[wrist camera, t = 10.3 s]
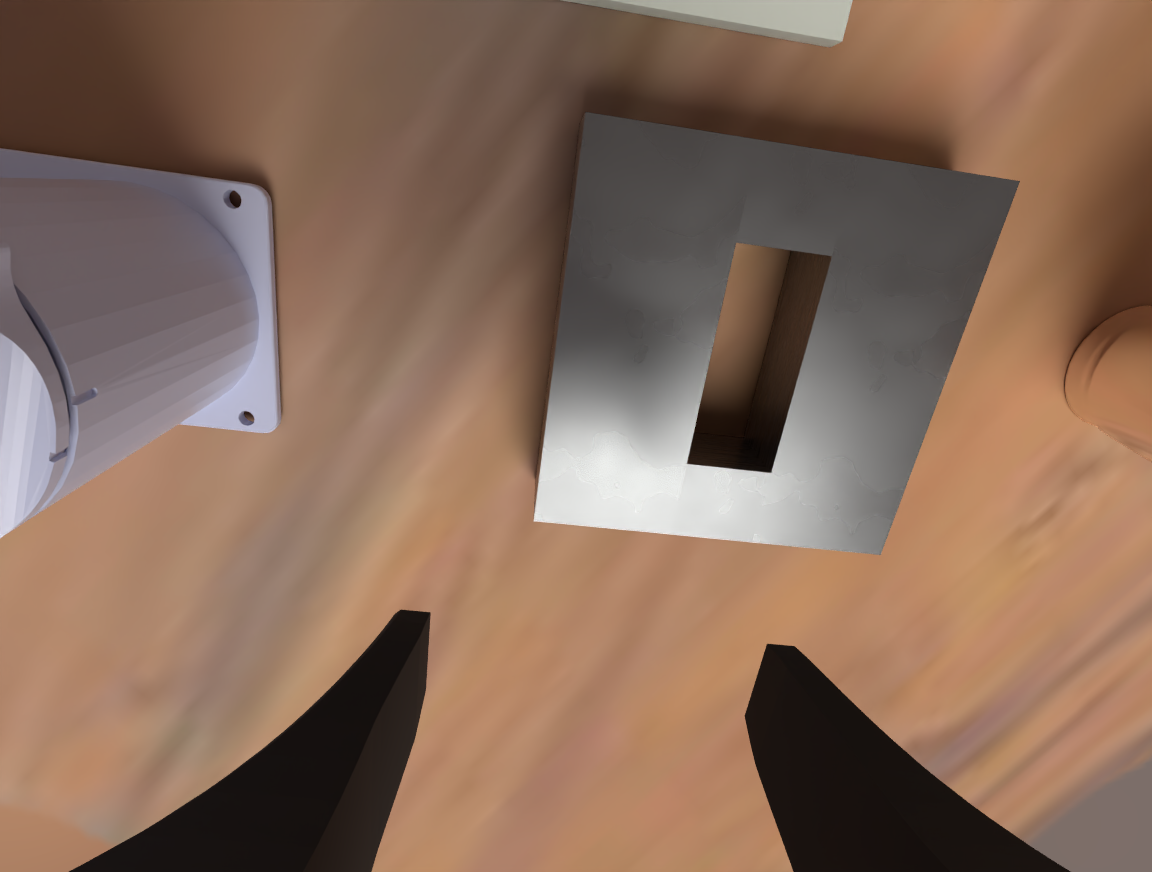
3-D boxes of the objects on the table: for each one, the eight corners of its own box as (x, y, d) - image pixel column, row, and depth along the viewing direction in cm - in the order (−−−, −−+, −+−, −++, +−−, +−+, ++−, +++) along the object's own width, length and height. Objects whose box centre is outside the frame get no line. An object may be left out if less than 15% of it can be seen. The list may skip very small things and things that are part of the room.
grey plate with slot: (535, 480, 23) (533, 521, 20) (579, 123, 18) (585, 112, 16) (841, 512, 24) (880, 554, 21) (952, 182, 20) (1019, 181, 17)
